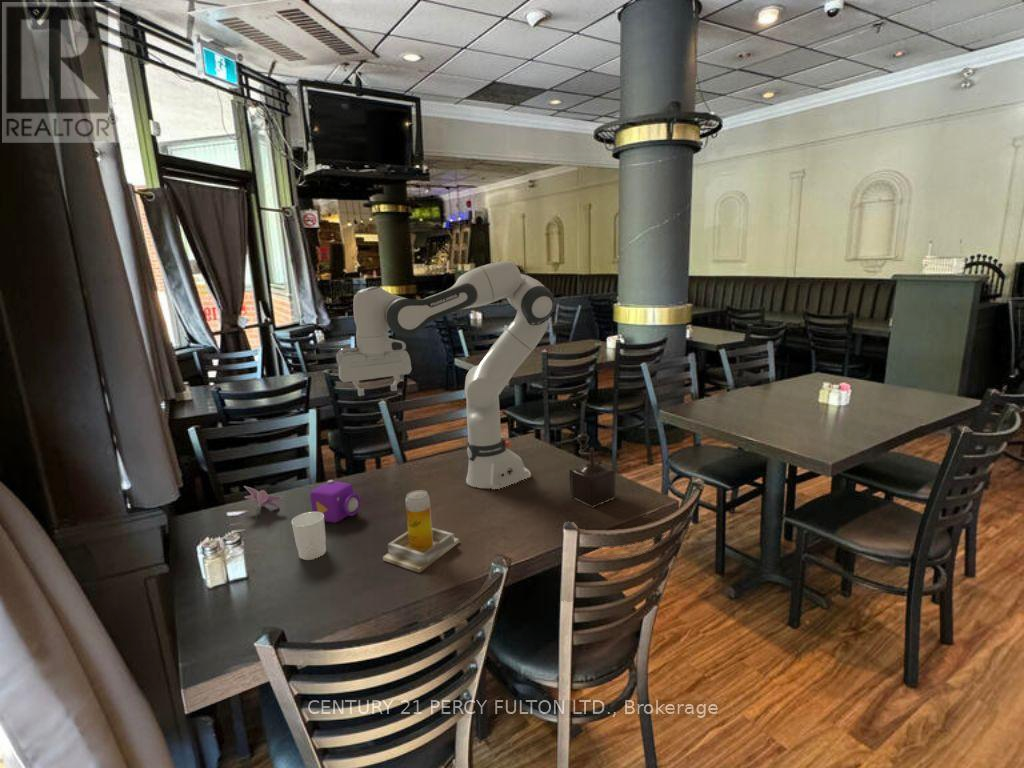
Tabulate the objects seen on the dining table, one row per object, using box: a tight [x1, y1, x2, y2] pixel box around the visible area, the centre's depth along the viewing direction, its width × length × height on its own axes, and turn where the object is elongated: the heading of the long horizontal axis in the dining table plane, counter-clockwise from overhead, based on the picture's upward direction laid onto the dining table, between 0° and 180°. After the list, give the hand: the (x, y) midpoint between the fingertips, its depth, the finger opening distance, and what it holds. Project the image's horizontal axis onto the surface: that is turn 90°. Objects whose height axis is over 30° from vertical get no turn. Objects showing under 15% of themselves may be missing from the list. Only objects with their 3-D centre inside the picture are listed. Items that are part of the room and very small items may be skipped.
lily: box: [243, 485, 284, 520], centre depth 161 cm, size 12×12×10 cm
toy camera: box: [309, 479, 361, 524], centre depth 156 cm, size 11×14×10 cm
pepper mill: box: [568, 433, 617, 506], centre depth 163 cm, size 16×11×18 cm
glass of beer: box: [404, 489, 433, 553], centre depth 134 cm, size 6×6×15 cm
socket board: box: [382, 527, 460, 574], centre depth 136 cm, size 12×16×4 cm
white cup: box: [291, 511, 327, 561], centre depth 136 cm, size 8×8×10 cm
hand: (377, 393), depth 151 cm, fingers open, 8 cm apart
